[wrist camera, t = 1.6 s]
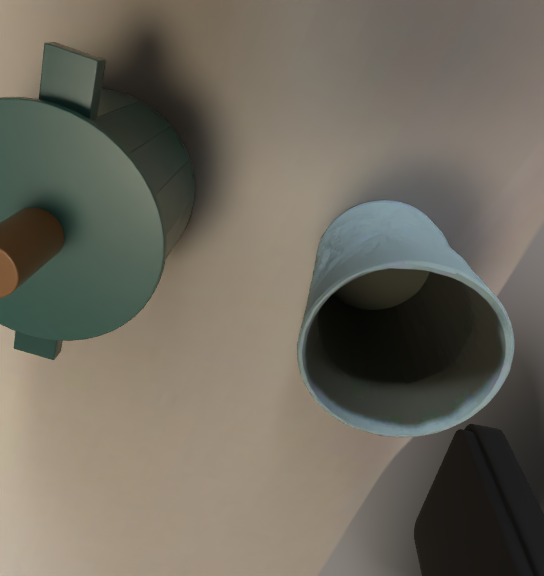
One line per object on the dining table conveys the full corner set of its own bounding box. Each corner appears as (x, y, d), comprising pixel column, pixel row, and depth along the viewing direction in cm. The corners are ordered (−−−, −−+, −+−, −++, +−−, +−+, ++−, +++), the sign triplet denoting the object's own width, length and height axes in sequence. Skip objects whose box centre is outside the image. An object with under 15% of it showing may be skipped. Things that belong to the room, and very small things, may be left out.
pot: (14, 264, 37) (-74, 332, 29) (38, 14, 30) (-71, 5, 21) (166, 311, 38) (125, 390, 30) (225, 79, 31) (193, 95, 22)
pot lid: (-75, 291, 28) (-158, 347, 23) (-74, 56, 23) (-182, 62, 18) (143, 356, 29) (109, 423, 24) (195, 146, 24) (165, 175, 19)
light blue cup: (472, 288, 36) (543, 396, 25) (341, 344, 38) (354, 465, 28) (414, 159, 32) (467, 221, 21) (274, 232, 35) (258, 320, 24)
